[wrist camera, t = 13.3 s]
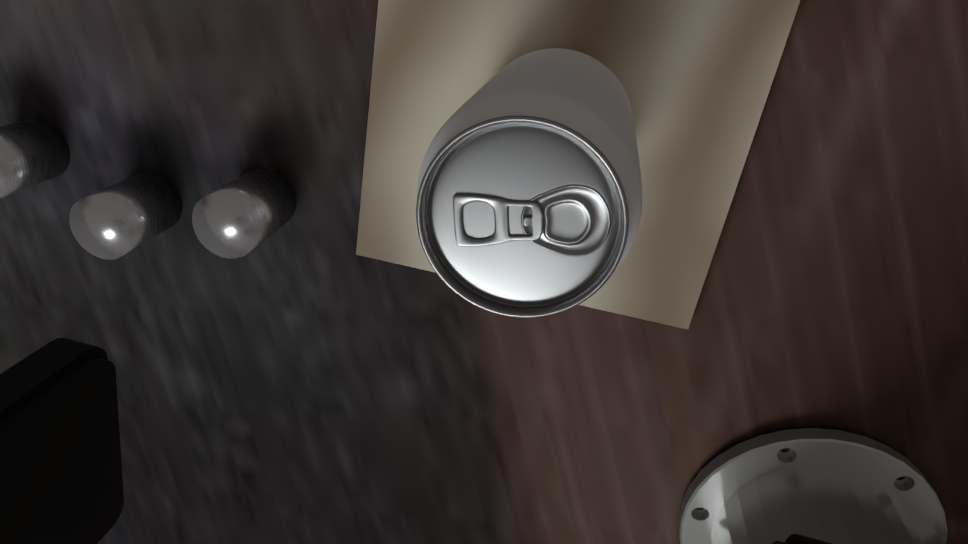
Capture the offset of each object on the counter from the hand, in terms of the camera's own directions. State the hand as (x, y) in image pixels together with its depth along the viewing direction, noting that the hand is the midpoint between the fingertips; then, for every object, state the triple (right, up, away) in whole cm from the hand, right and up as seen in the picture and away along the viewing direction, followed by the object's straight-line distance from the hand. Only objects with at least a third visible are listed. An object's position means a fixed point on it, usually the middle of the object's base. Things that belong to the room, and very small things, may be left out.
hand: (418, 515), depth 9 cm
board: (+4, +10, +20) cm, 23 cm away
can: (+4, +10, +19) cm, 22 cm away
